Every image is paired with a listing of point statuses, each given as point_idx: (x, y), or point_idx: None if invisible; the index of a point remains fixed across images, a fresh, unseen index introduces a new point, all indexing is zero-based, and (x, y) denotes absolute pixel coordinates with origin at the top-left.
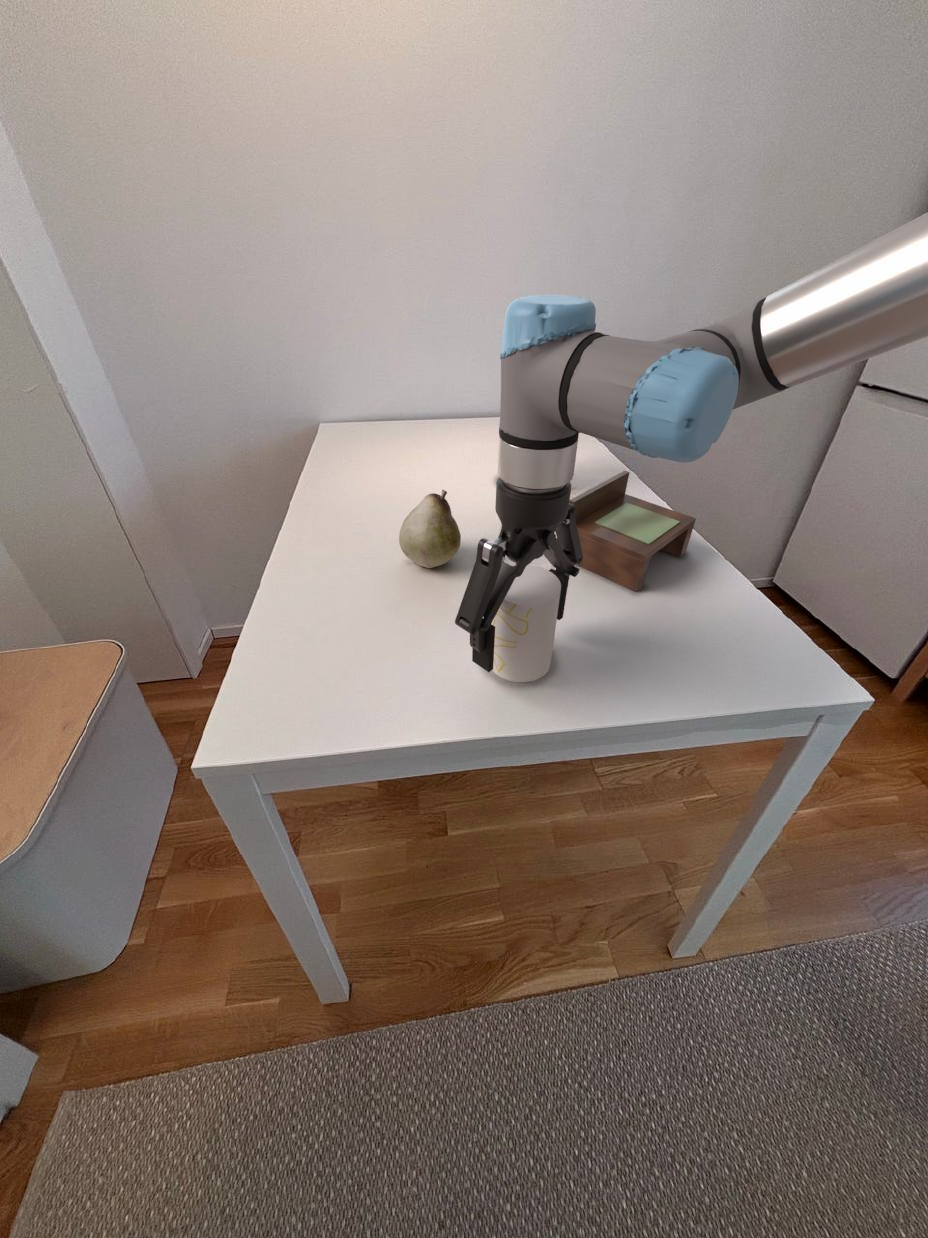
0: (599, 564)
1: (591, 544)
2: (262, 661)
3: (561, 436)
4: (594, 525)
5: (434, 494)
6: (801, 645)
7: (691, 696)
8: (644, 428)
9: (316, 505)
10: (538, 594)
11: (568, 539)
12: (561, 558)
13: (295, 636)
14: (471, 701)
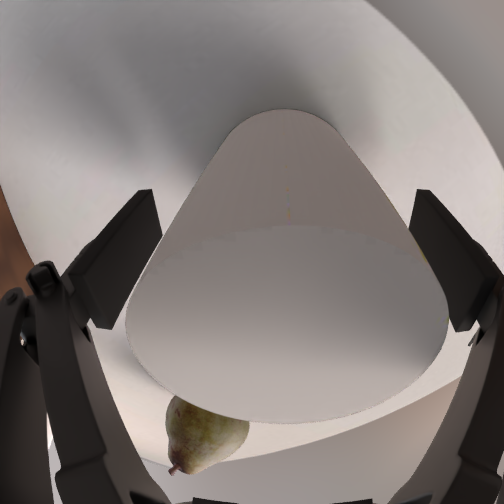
0: (10, 251)
1: (3, 288)
2: (460, 368)
3: None
4: None
5: (184, 472)
6: None
7: None
8: None
9: (248, 452)
10: (325, 304)
11: (11, 415)
12: (64, 376)
13: (422, 380)
14: (433, 176)
